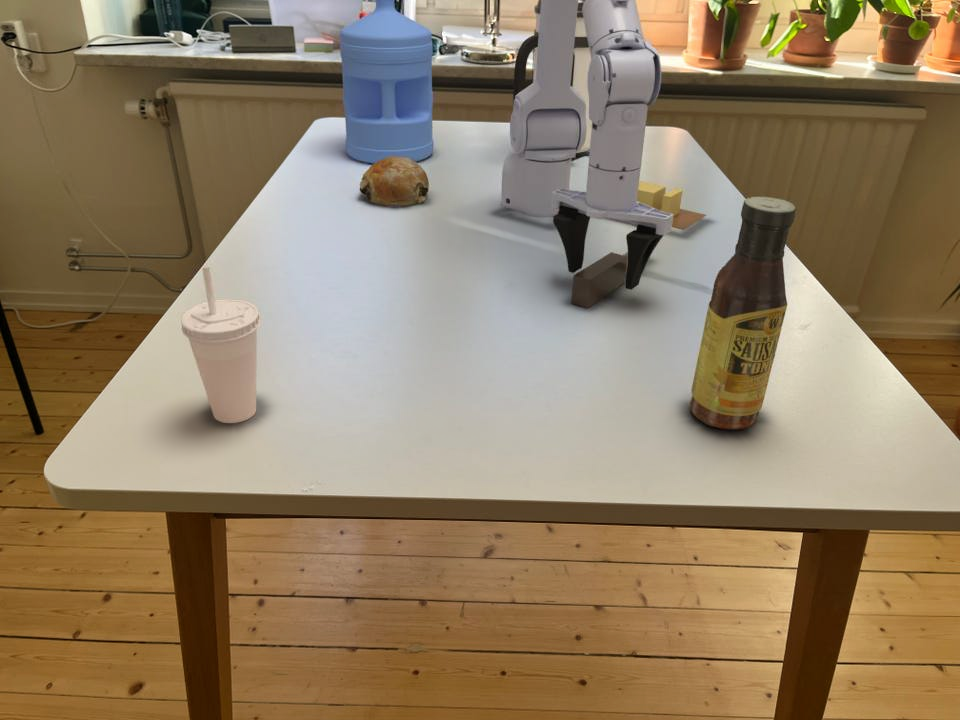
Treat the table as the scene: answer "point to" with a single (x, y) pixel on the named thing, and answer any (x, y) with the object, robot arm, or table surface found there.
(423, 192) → the bread roll
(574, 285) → the knife
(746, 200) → the sauce bottle
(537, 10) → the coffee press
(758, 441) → the table surface
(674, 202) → the butter slice
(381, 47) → the water jug
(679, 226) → the cutting board
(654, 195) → the butter block
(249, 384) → the smoothie
